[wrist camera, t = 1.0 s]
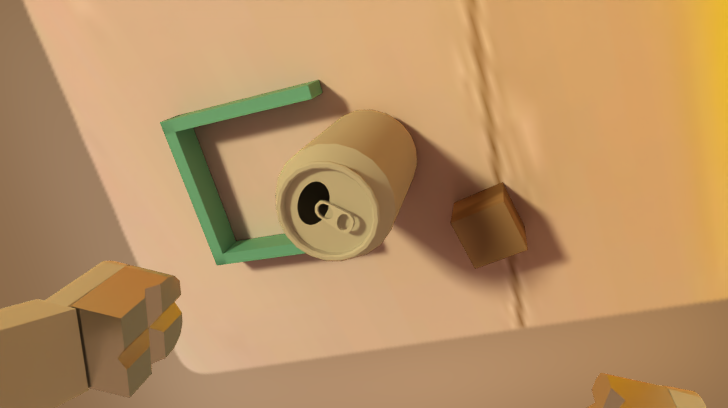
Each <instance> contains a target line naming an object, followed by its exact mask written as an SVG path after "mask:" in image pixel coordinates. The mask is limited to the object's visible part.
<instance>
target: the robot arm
mask: <svg viewBox="0 0 728 408" xmlns="http://www.w3.org/2000/svg"><path fill="white" fill-rule="evenodd" d="M180 295H181V290H180V281H179V280H178V279H177V278H176V277H175V276H173V275H169V274H165V273H161V272H157V271H153V270H149V269H145V268H141V267H137V266H131V265H127V264H124V263H119V262H115V261H103V262H101V263H100V264H98V265H97V266H95V267H94V268H92V269H91V270H89V271H88V272H86V273H85V274H83V275H82V276H80V277H79V278H77V279H76V280H74V281H73V282H71V283H70V284H68V285H67V286H65V287H64V288H62V289H61V290H59V291H58V292H57V293H55V294H54V295H52V296H51V297H49V298H48V299H46V300H45V301H44V300H39V299H36V300H32V301H28V302H24V303H21V304H17V305H13V306H9V307H6V308H2V309H0V408H55V407H58V406H59V405H61V404H63V403H65V402H67V401H69V400H71V399H73V398H75V397H77V396H79V395H81V394H83V393H84V392H87V391H88V390H89V389H88V388H91V389H95V390H99V391H103V392H107V393H111V394H116V395H120V396H124V397H128V398H130V397H131V396H132V395H133V394H134V393H135V391H136V390H137V389H138V388H139V387H140V386H141V385H142V384H143V383H144V382H145V380H146V379H147V378H148V377H149V376H150V375H151V374H152V368H151V367H152V365H151V364H153V363H155V362H157V361H159V360H162V359H164V358H166V357H167V356H168V355H169V353H170V352H171V351H172V350H173V349H174V347H175V345H176V343H177V341H178V338H179V336H180V333H181V328H182V312H181V311H180V309H179V308H178V306H177V305H176V304H175V301H176V300H177V299H178V298H179V296H180ZM592 393H593V397H594V401H595V403H593V404H592V405H590V406H588V407H587V408H707V407H706V406H705V404H704V402H703V400H702V399H701V397H700V396H699V395H698V394H697V393H695V392H694V391H690V390H684V389H679V388H674V387H669V386H664V385H662V386H659V385H654V384H650V383H646V382H641V381H637V380H632V379H627V378H623V377H619V376H614V375H609V374H605V373H600V374H599V375H598V377H597V378H596V380H595V382H594V385H593V387H592Z"/></svg>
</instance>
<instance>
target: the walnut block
mask: <svg viewBox="0 0 728 408" xmlns="http://www.w3.org/2000/svg"><path fill="white" fill-rule="evenodd" d="M451 225H452V227H453V229H454V231H455V232H456V234H457V236H458V238H459V240H460V242H461V244H462V245H463V247H464V249H465V251H466V253H467V255H468V257H469V259H470V260H471V262H472V264H473V266H474V268H475V269H476V268H479V267H481V266H484V265H487V264H490V263H493V262H495V261H498V260H501V259H504V258H506V257H509V256H512V255H515V254H517V253H520V252H523V251H526V250H528V247H527V240H526V233H525V226H524V224H523V222H522V220H521V218H520V216H519V214H518V212H517V210H516V208H515V206H514V204H513V202H512V200H511V198H510V196H509V194H508V192H507V190H506V188H505V186H504V184H503V182H502V183H500V184H497V185H495V186H493V187H490V188H488V189H486V190H483V191H481V192H478V193H476V194H474V195H471V196H469V197H467V198H464V199H462V200H460V201H457V202H455V203H454V207H453V213H452V218H451Z"/></svg>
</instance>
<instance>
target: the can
mask: <svg viewBox="0 0 728 408" xmlns="http://www.w3.org/2000/svg"><path fill="white" fill-rule="evenodd" d="M416 166H417V154H416V147H415V145H414V142H413V140H412V137H411V135H410V133H409V132H408V131H407V130H406V129H405V127H404V126H403V125H402V124H401V123H400V122H399V121H397V120H396V119H394V118H393V117H391V116H390V115H388V114H386V113H382V112H379V111H375V110H356V111H354V112H351V113H349V114H347V115H344V116H342V117H341V118H340V119H338V120H337V121H336V122H335V123H333V124H332V125H331V126H330V127H328V128H327V129H326V130H325V131H324V132H322V133H321V134H320V135H319V136H317V137H316V138H315V139H314V140H312V141H311V142H310V143H309V144H307V145H306V146H305V147H304V148H302V149H301V150H300V151H299V152H298V153H297V154H295V155H294V156H293V157H292V158H291V159H290V160H289V161H288V162H286V164H285V166H284V168H283V169H282V171H281V173H280V175H279V177H278V181H277V188H276V195H275V196H276V210H277V215H278V221H279V223H280V225H281V227H282V229H283V231H284V233H285V235H286V236H287V237H288V238H289V239H290V240H291V241H292V243H293V244H294V245H295V246H296V247H297V248H299V249H300V250H302V251H303V252H305V253H307V254H308V255H310V256H312V257H315V258H319V259H322V260H325V261H343V260H347V259H351V258H355V257H358V256H362V255H365V254H368V253H369V252H371V251H372V250H373V249H375V248H376V247H378V246H379V245H381V244H382V242H383V241H384V239H385V238H386V236H387V235H388V234H389V232H390V231H391V229H392V227H393V224H394V222H395V220H396V217H397V215H398V213H399V210H400V208H401V206H402V203H403V201H404V199H405V196H406V194H407V192H408V189H409V187H410V185H411V182H412V180H413V177H414V174H415V170H416Z"/></svg>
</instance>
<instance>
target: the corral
mask: <svg viewBox="0 0 728 408" xmlns="http://www.w3.org/2000/svg"><path fill="white" fill-rule="evenodd" d="M321 93H322V89H321V86H320V82H319V80H316V81H312V82H308V83H304V84H300V85H297V86H293V87H289V88H285V89H281V90H277V91H273V92H269V93H265V94H261V95H257V96H253V97H249V98H245V99H241V100H237V101H233V102H229V103H225V104H222V105H218V106H214V107H210V108H206V109H202V110H198V111H194V112H190V113H186V114H182V115H178V116H175V117H173V118H170V119H167V120H165V121H162V122H160V124H161V126H162V129H163V131H164V134H165V136H166V139H167V141H168V144H169V146H170V149H171V152H172V154H173V157H174V159H175V162H176V164H177V167H178V169H179V172H180V174H181V177H182V179H183V182H184V184H185V187H186V189H187V192H188V194H189V197H190V199H191V202H192V204H193V207H194V209H195V212H196V214H197V217H198V219H199V222H200V224H201V227H202V229H203V232H204V234H205V237H206V239H207V242H208V244H209V247H210V249H211V252H212V254H213V257H214V259H215V262H216V264H217V265H223V264H231V263H238V262H245V261H253V260H260V259H267V258H275V257H282V256H289V255H297V254H304V253H305V252H303V251H302V250H300V249H299V248H297V247H296V246H295V245H294V244H293V243H292V241H291V240H290V239H289V238H288V237H287V236H286V235H285V234H279V235H273V236H266V237H260V238H253V239H246V240H240V241H236V240H235V237H234V234H233V232H232V229H231V226H230V224H229V221H228V218H227V216H226V213H225V210H224V208H223V205H222V203H221V200H220V197H219V195H218V192H217V189H216V187H215V184H214V181H213V179H212V176H211V173H210V171H209V168H208V165H207V163H206V160H205V158H204V155H203V152H202V150H201V147H200V144H199V142H198V139H197V136H196V134H195V131H194V127H198V126H202V125H206V124H210V123H214V122H218V121H223V120H227V119H231V118H235V117H239V116H243V115H247V114H252V113H256V112H260V111H264V110H268V109H272V108H276V107H281V106H285V105H289V104H293V103H297V102H301V101H305V100H310V99H313V98H314V97H316V96H318V95H320V94H321Z"/></svg>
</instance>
